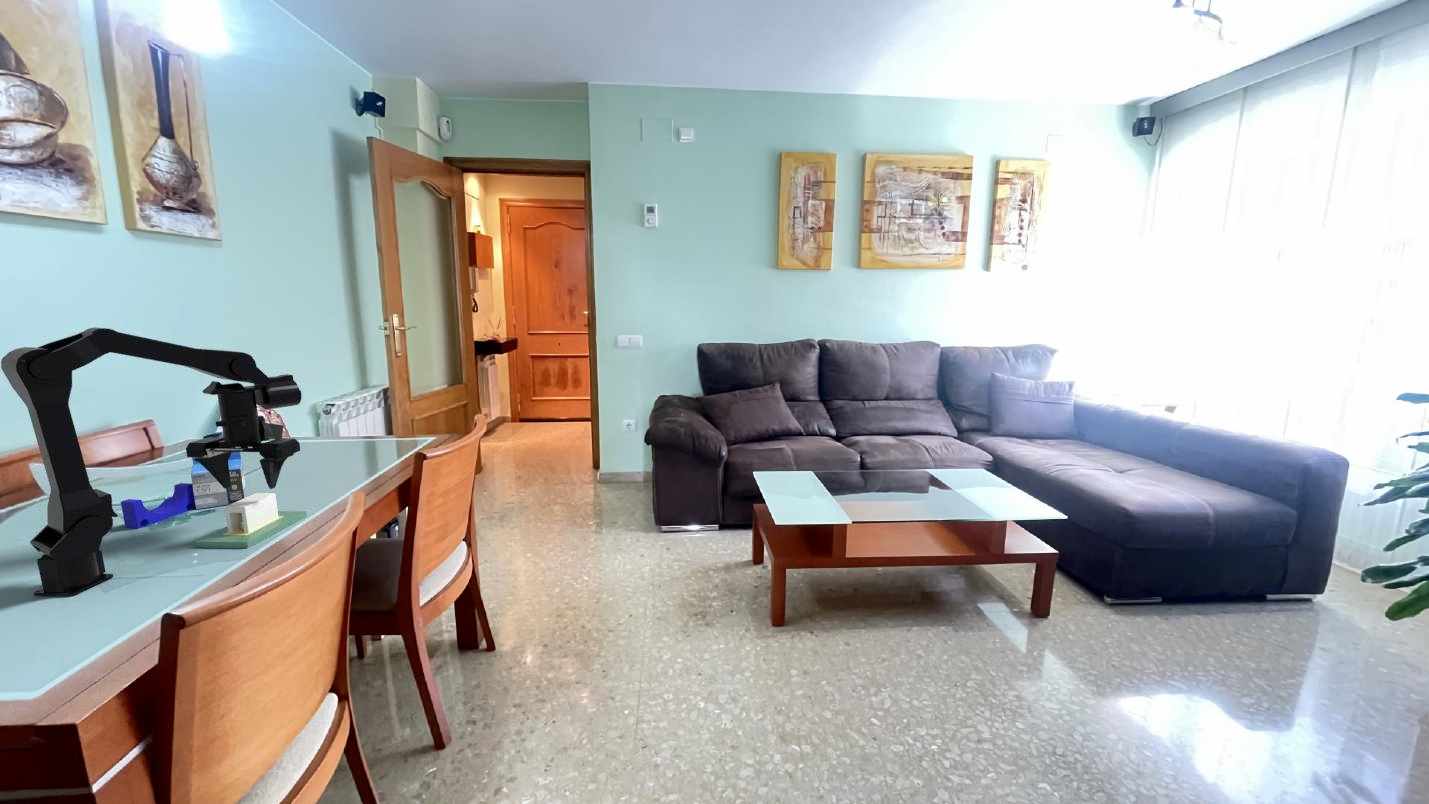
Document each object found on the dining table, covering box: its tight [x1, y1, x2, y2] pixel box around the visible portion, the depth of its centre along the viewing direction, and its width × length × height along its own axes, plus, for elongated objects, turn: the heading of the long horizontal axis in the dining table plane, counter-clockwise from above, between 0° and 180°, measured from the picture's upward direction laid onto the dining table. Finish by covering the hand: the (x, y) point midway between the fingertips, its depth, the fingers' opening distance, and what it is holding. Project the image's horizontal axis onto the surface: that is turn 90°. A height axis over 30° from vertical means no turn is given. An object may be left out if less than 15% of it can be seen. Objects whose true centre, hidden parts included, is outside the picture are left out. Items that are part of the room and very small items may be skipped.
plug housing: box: [224, 492, 279, 533], centre depth 115 cm, size 8×4×6 cm, turn 1°
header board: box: [194, 510, 308, 549], centre depth 116 cm, size 16×10×3 cm, turn 1°
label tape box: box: [190, 452, 248, 510], centre depth 129 cm, size 9×4×12 cm, turn 124°
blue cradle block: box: [120, 482, 197, 530], centre depth 121 cm, size 12×4×6 cm, turn 174°
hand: (250, 488), depth 114 cm, fingers open, 9 cm apart
